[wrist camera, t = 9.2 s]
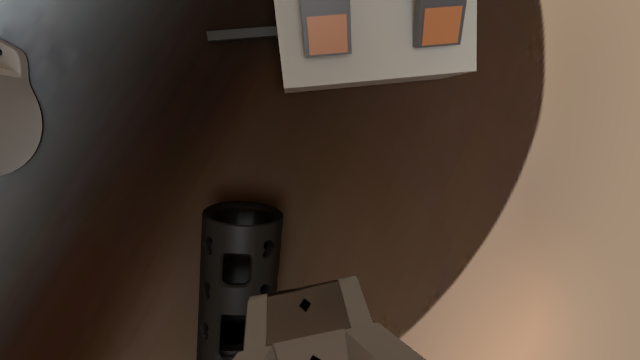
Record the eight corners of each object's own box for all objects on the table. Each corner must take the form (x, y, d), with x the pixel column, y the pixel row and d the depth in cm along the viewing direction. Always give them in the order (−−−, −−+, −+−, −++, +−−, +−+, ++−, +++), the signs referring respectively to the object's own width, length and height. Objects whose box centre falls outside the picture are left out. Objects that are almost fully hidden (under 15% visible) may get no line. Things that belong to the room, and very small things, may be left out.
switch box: (219, 99, 39) (201, 96, 31) (198, -32, 36) (173, -71, 28) (440, 78, 41) (476, 70, 33) (438, -47, 38) (477, -88, 30)
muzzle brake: (286, 202, 43) (285, 229, 33) (269, 382, 48) (264, 453, 38) (212, 196, 42) (188, 222, 32) (204, 381, 47) (181, 454, 37)
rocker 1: (304, 56, 32) (305, 58, 30) (294, -54, 28) (295, -60, 26) (348, 53, 32) (352, 53, 30) (344, -57, 28) (348, -63, 27)
